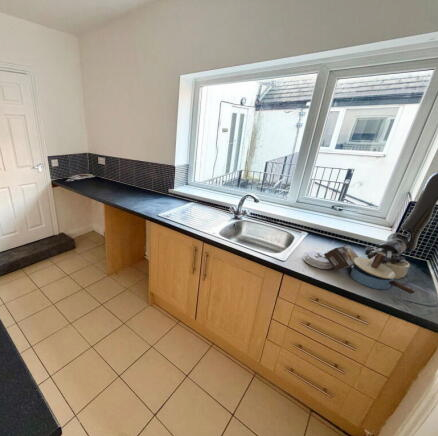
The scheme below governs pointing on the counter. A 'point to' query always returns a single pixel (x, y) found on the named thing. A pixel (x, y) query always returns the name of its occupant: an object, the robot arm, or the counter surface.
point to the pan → (375, 280)
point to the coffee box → (341, 257)
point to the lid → (317, 259)
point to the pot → (398, 268)
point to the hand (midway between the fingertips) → (376, 259)
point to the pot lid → (375, 266)
